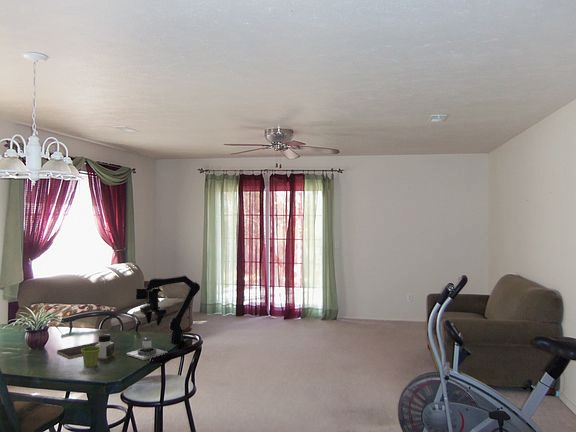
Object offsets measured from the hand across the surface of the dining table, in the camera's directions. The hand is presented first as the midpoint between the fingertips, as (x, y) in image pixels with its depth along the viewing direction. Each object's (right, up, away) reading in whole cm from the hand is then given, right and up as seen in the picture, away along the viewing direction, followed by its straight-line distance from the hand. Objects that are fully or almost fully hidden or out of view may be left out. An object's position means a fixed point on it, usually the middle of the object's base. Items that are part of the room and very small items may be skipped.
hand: (153, 324), depth 275 cm
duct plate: (+3, -12, -21) cm, 24 cm away
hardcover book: (-36, -13, -16) cm, 41 cm away
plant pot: (-20, -12, -41) cm, 47 cm away
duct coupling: (+3, -11, -21) cm, 24 cm away
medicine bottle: (-19, -12, -25) cm, 34 cm away
